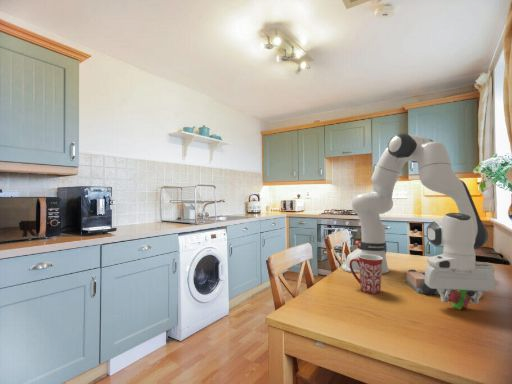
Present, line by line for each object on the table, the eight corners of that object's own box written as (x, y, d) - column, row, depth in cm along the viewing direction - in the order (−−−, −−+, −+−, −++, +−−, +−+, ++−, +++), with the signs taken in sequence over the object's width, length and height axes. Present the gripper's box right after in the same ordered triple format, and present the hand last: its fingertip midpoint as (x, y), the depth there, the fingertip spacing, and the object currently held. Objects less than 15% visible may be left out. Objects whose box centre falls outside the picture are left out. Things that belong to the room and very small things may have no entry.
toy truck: (419, 294, 102) (419, 281, 102) (403, 280, 119) (403, 269, 119) (478, 297, 99) (478, 284, 99) (454, 282, 115) (454, 271, 115)
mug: (385, 289, 108) (384, 256, 108) (380, 296, 101) (380, 260, 101) (353, 283, 115) (353, 252, 115) (346, 289, 108) (346, 256, 108)
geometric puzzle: (466, 297, 94) (452, 279, 94) (483, 305, 87) (468, 285, 87) (450, 309, 94) (436, 291, 94) (466, 318, 87) (451, 299, 87)
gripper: (487, 260, 92) (487, 300, 92) (422, 258, 95) (422, 296, 95) (500, 265, 85) (501, 308, 85) (430, 262, 89) (430, 304, 89)
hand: (459, 302), depth 90 cm, fingers closed on geometric puzzle, 8 cm apart
